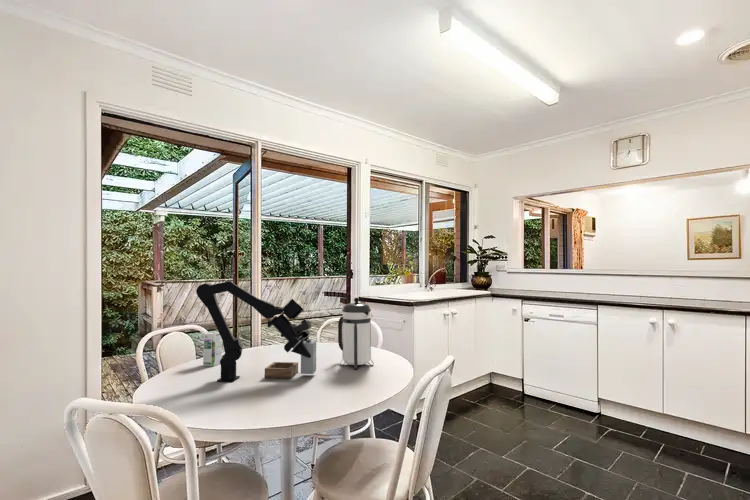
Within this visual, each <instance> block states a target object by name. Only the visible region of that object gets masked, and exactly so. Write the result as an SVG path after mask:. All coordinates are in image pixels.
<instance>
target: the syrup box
mask: <svg viewBox="0 0 750 500" xmlns="http://www.w3.org/2000/svg"><path fill="white" fill-rule="evenodd" d="M222 346H223V340H222V338H221V336H220V334H219V332H218V331H207V332H205V333H204V332H203V358H202V366H203V367H204V366H205V367H215V366H218V365H221V364H220V360H221V358H222V356H223V353H222V352H223V351H222V350H223V347H222Z"/></svg>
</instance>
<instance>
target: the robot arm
mask: <svg viewBox="0 0 750 500" xmlns="http://www.w3.org/2000/svg"><path fill="white" fill-rule="evenodd" d="M224 292H227V293H229V294H231V295H232V296H234V297H236V298H238V299H240V300H241V301H243V302H244V303H246V304H247V305H249V306H251V307H252V308H253V309H254V310H255V311H257V312H258V313H259V315H261V316H262V317H263V318H264V319H268V320H267V328H269V329H270V328H271V327H272V326H273V327H274V328H275V329H276V330H277V331H278V332H279V334H280V337H281V338H284V339H285V340H286V341H288V342H286V343H285V344H284V346H283V348H284V351H285V352H286V353H289V352H290V353H294V354H298V355H300V356H301V355H302V356H305V357H308V358H310V357H311V355H310V353H309V352H308V350H307V349H306V348H305V346H304V343H303V341H306V340H307V339H310V334H311V332H310V331H309V329H311V328H312V323H311V321H310V320H309V319H306V318H305V319H303V320H301V323H299V324H296V323H292V322H290V320H295V319H296V318H297V317H298V316H300V315H301V314H302V312H303V311H305V310H304V308H303V307H302V306H301V305H300V304H299V303H297V301H295V300H294V299H293V298H290V300H289V301H288V303H286V304H285V305H284V306H283V307H282V306H275V304H273V303H272V302H269V301H267V300H264V299H261V298H258V297H256V296H255V295H253V294H252V293H250V292H248V291H247V290H245V289H243V288H242V287H240V286H238V285H237V284H235V283H234V282H233V281H231V280H227V281H225V282H219V283H214V284H211V283H208V282H207V283H202V284H199V285H198V286H197V288H196V296H197V297H198V299H200V301H201V302H202V304H203V305H204V306H205V307H206V308H207V311H208V313H209V314H210V317H211V318H212V321H213V322H214V326H215V328H216V330H217V332H219V334H220V336H221V338H222V346H223V349H224V354H222V358H221V360H220V364H219V365H220V377H219V378H218V379H217V380H216V382H219V383H220V382H225V383H232V382H235V381H236V380H238V379H239V378H240V377H241V376H240V375H237V361H238V360H239V359H240V358H241V357H242V353H243V347H244V345H243V343H242V342H241V340H240V337H239V336H237V337H235V336H234V335H233V333H232V331H231V330H230V327H229V325H228V323H227V320H226V318H225V316H224V315H223V312H222V310H221V308H220V306H219V304H218V303H219V302H218V298H217V294H220V293H224ZM277 315H278V316H277Z"/></svg>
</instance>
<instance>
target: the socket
mask: <svg viewBox="0 0 750 500" xmlns="http://www.w3.org/2000/svg"><path fill="white" fill-rule="evenodd" d="M298 373H299V362H293V361H290V362H289V361H285V362H284V361H281V362H280V361H274V362H272V363H270V364H269V365H267V366H266V367H265V368H264V380H292V379H293V378H294V377H295V376H296V375H297V374H298Z"/></svg>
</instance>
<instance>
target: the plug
mask: <svg viewBox="0 0 750 500" xmlns="http://www.w3.org/2000/svg"><path fill="white" fill-rule="evenodd" d="M303 343H304V346H305V348H306V349H307V350H308V352H309V353H310V355H311V357H310V358H308V357H305V356H302V355H300V375H314V374H315V372H316V371H317V340H312V338H309V339H307V340H306V341H303Z"/></svg>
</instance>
